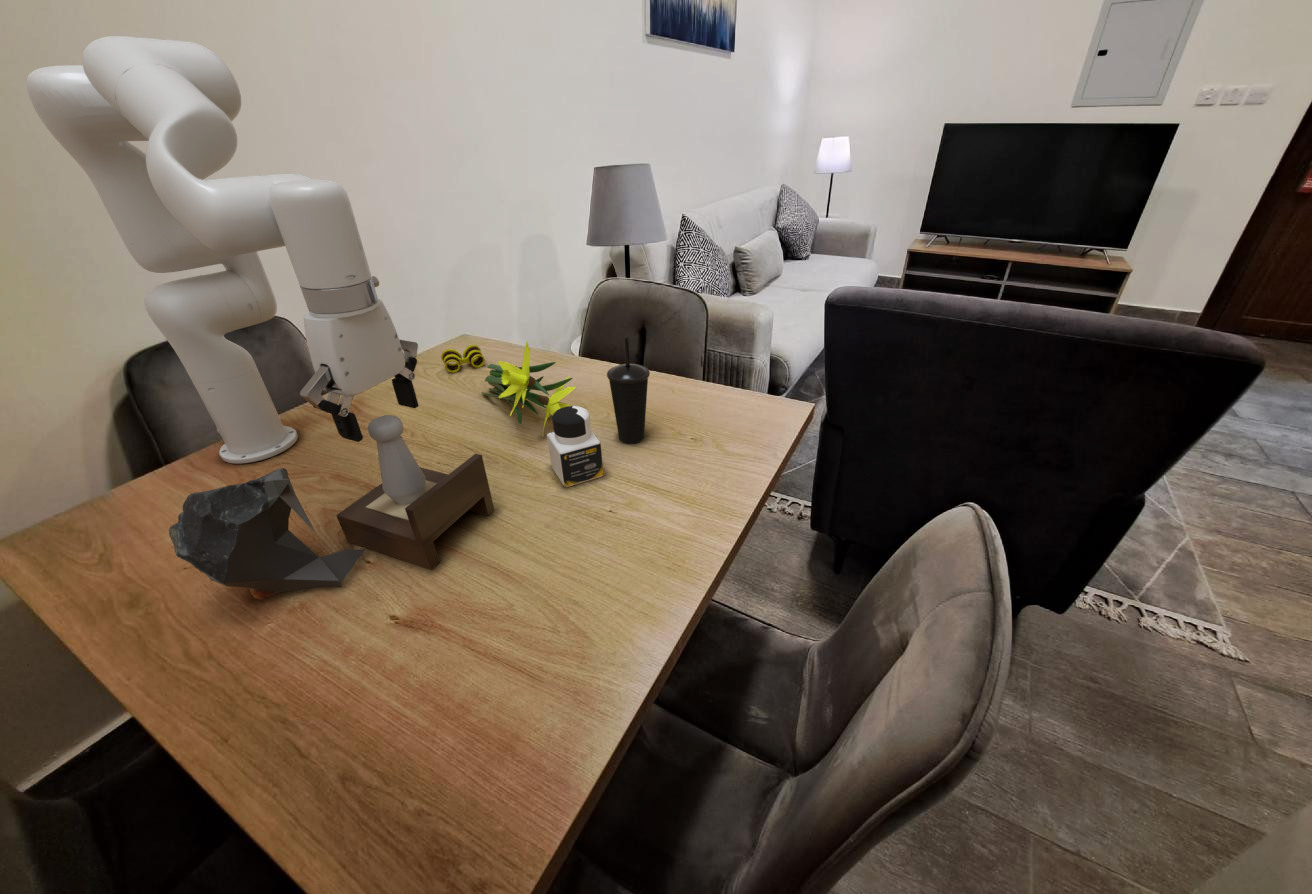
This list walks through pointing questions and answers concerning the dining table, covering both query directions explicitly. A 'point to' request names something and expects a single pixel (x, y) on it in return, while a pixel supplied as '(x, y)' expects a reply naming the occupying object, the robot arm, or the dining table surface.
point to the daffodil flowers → (526, 386)
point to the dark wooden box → (418, 514)
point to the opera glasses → (468, 357)
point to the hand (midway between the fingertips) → (382, 421)
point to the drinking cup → (629, 398)
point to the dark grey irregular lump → (254, 539)
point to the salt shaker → (396, 461)
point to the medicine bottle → (574, 447)
